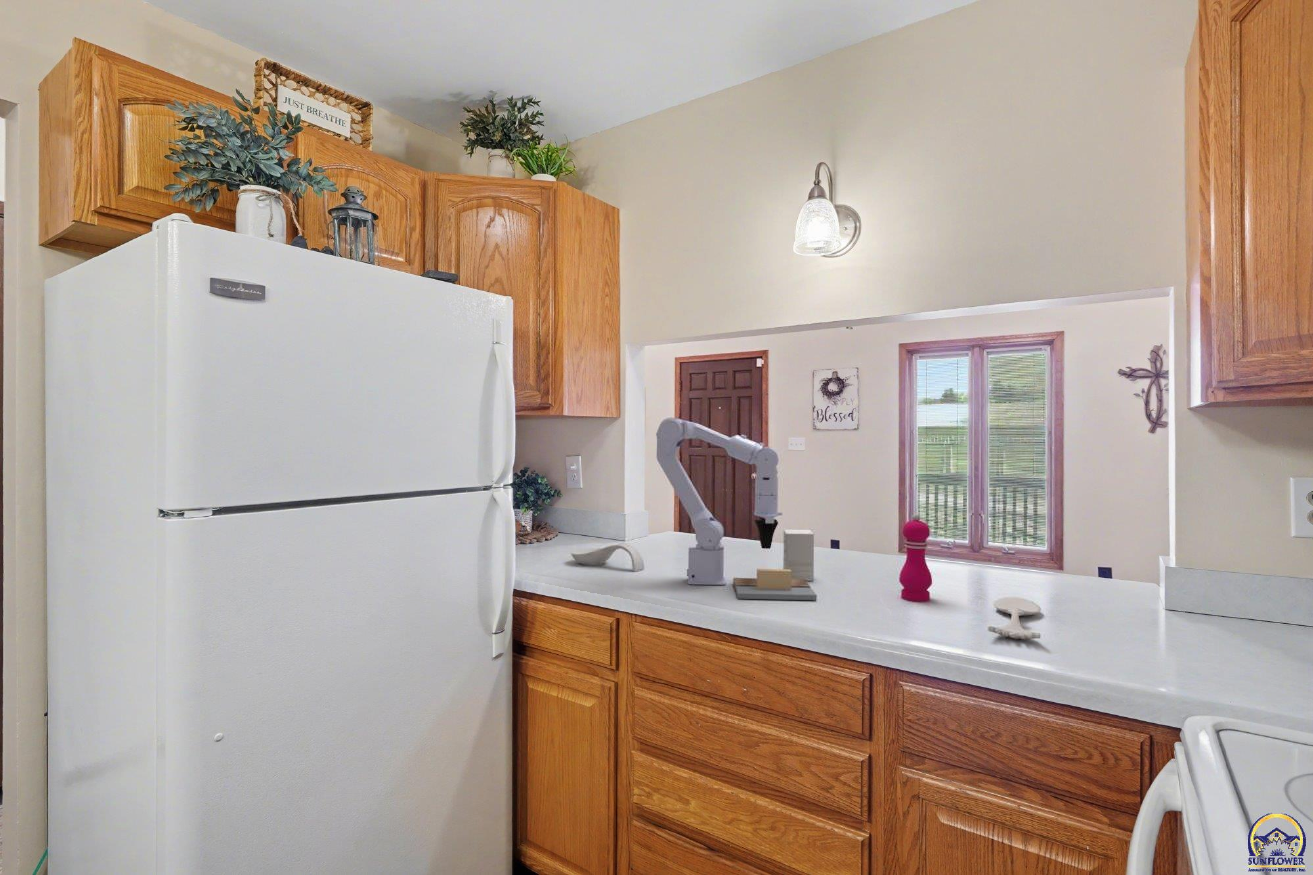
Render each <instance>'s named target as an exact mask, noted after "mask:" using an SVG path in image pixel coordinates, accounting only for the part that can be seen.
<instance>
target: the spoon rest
mask: <svg viewBox="0 0 1313 875" xmlns="http://www.w3.org/2000/svg"><path fill="white" fill-rule="evenodd" d="M619 549H621V550H622V551H623V550H624V551H625V552H626V553H628V554H629V556H630V559H631V563H632V564H631V565H632V572H633V573H636V572H639V571H643V570H644V569H645V564H644V560H643V557H642V555H641V554H640V552H639V551H638V549H637V548H635V547H634V546H633V545H631V544H628V543H626V542H620V543H618V544H614V545H613V544H612V545H608V546H604V547H603V548H600V547H599V548H598V547H597V548H586V549H580V550H576V551H572V552H571V554H570V555H571V557H572V558H573V560H575V561H576V562H577V563H578V564H581V565H582V566H601V565H604V563H606V562H607V561H609V559H610V558H611V557H612V555H613V554H614V553H615V552H616V551H617V550H619Z"/></svg>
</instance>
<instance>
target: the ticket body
mask: <svg viewBox="0 0 1313 875" xmlns="http://www.w3.org/2000/svg"><path fill="white" fill-rule="evenodd" d="M732 582H733V583H732V584H733V588H734V592H736V586H748V587H757V577H755V578H754V577H749V578H748V577H746V578H745V577H732ZM791 587H797V588H811V585H810V584H809V583H808V581H805V579H792V581H791Z"/></svg>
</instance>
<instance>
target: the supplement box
mask: <svg viewBox="0 0 1313 875" xmlns="http://www.w3.org/2000/svg"><path fill="white" fill-rule="evenodd" d="M814 540H815V534H814V533H813V532H812V531H811V530H810V529H783V558H782V559H783V563H782V564H783V568H782V569H789V570H791V571H792V579H805V581H806V582H814V580H815V579H814V573H815V568H814V567H815V565H814V564H815V561H814V560H815V559H814V558H815V557H814V555H815V554H814V553H815V552H814V551H815V546H814V544H815V541H814Z"/></svg>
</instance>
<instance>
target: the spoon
mask: <svg viewBox="0 0 1313 875" xmlns="http://www.w3.org/2000/svg"><path fill="white" fill-rule="evenodd" d="M993 606H994V607H995V608H996V609H997V610H999V611H1000V612H1003V613H1005V614H1009V615H1011V618H1010V620H1009V623H1008V624H1007V625H1006V626H999V627H995V626H992V625H988V627H987V631H988V632H990V633H994V634H998V635H1000V636H1004V637H1007V638H1011V639H1018V640H1026V639H1027V640H1029V639H1041V633H1040V632H1032V631H1029V630H1026V629H1024V627H1022V625H1021V623H1020V617H1019V616H1021V617H1023V616H1024V617H1025V616H1031V615H1032V616H1033V615H1036V614H1038V613H1039V612H1041V607H1040V606H1039V605H1038V604H1037V603H1035V602H1034V601H1033V600H1029V599H1027V598H1024V597H1017V596H1006V597H1000V598H998V599H996V600H995V601H994V602H993Z"/></svg>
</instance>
